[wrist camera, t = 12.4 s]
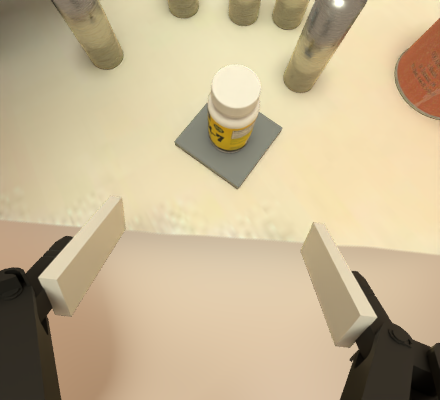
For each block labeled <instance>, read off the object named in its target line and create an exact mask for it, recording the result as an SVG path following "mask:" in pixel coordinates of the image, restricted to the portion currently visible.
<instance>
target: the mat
mask: <svg viewBox="0 0 440 400" xmlns="http://www.w3.org/2000/svg"><path fill="white" fill-rule="evenodd" d="M207 103H208V102H207ZM281 130H282V127H281V126H279V125H278V124H276V123H275V122H273V121H272V120H270V119H269V118H267V117H266V116H264V115H263V114H261V113H260V112H259V113H258V116H257V118H256V121H255V124H254V127H253V130H252V132H251V135H250V138H249V140H248V142H247V144H246V145H245V147H244V148H242V149H241V150H239V151H237V152H234V153H225V152H222V151H220V150H218V149H217V148H215V147H214V146H213V144H212V143H211V141H210V139H209V134H208V109H207V104H206V105H205V106H204V107H203V108H202V109H201V111H200V112H199V113H198V114H197V115H196V117H195V118H194V119H193V120H192V121H191V123H190V124H189V125H188V126H187V127H186V128H185V130H184V131H183V132H182V133H181V134H180V136H179V137H178V138H177V139H176V140H175V145H177V146H178V147H179V148H181V149H182V150H184V151H185V152H186V153H188V154H189V155H191V156H192V157H193V158H195V159H196V160H198V161H199V162H200V163H202V164H203V165H204V166H206V167H207V168H209V169H210V170H211V171H213V172H214V173H216V174H217V175H218V176H220V177H221V178H223V179H224V180H225V181H227V182H228V183H230V184H231V185H232V186H234V187H235V188H237V189H238V188H239V187H240V185H241V184H242V183H243V181H244V180H245V179H246V177H247V176H248V175H249V173H250V172H251V171H252V169H253V168H254V167H255V165H256V164H257V162H258V161H259V160H260V158H261V157H262V156H263V154H264V153H265V152H266V150H267V149H268V148H269V146H270V145H271V144H272V142H273V141H274V140H275V138H276V137H277V135H278V134H279V133H280V131H281Z"/></svg>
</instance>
